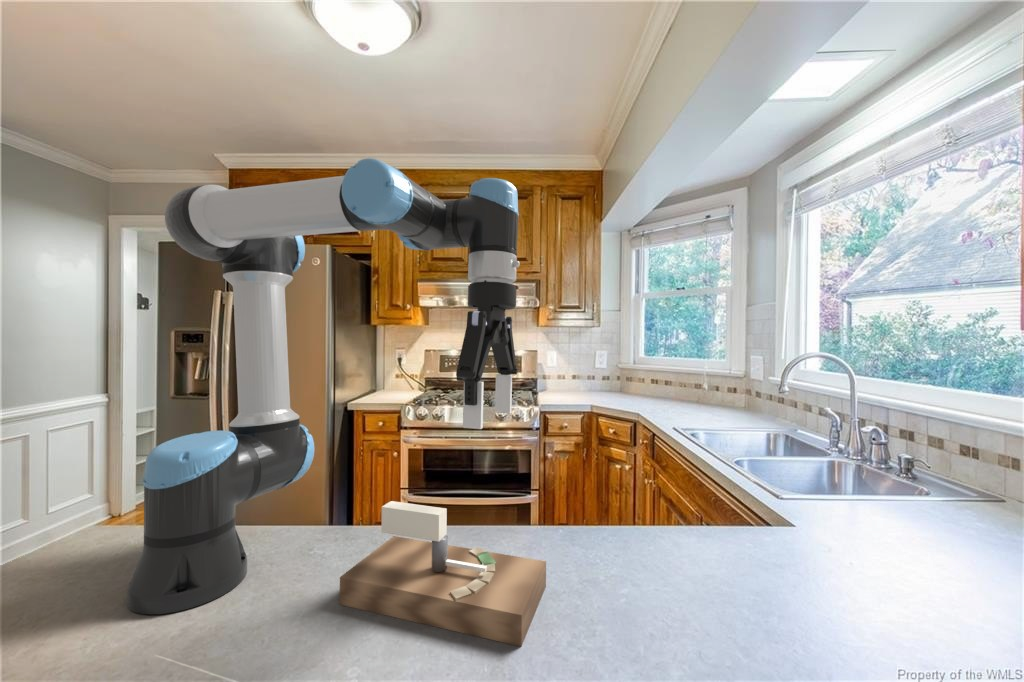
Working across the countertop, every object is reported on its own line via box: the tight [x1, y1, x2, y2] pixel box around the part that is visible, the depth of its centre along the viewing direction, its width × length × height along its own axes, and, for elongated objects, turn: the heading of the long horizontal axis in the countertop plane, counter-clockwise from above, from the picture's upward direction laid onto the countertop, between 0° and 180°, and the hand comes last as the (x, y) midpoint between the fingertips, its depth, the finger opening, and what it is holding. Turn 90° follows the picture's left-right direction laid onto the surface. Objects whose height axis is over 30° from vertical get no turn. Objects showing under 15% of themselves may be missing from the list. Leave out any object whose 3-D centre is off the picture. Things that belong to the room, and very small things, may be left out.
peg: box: [381, 500, 487, 572], centre depth 65 cm, size 17×3×9 cm, turn 73°
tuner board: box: [339, 535, 547, 647], centre depth 65 cm, size 28×14×4 cm, turn 72°
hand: (489, 419), depth 66 cm, fingers open, 13 cm apart
